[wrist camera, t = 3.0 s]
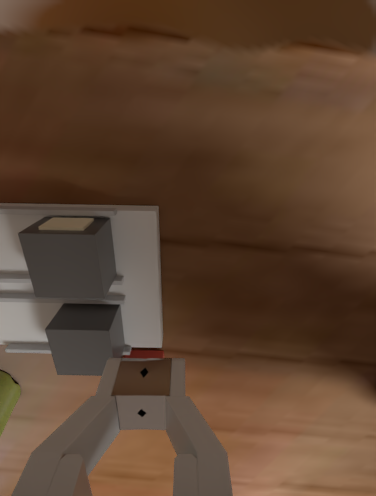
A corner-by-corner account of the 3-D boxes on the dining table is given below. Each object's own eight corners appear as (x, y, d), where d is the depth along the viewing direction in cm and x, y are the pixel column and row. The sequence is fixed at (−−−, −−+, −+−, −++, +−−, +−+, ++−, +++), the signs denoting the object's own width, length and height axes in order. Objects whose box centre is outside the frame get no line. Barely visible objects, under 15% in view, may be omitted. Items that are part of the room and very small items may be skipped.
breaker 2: (120, 303, 23) (109, 330, 20) (125, 345, 25) (115, 375, 22) (64, 302, 23) (44, 329, 20) (73, 344, 25) (57, 374, 22)
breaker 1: (109, 215, 20) (94, 231, 17) (116, 274, 22) (104, 298, 19) (44, 214, 20) (16, 230, 17) (57, 273, 22) (35, 297, 19)
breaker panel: (158, 203, 21) (154, 212, 19) (163, 338, 27) (160, 357, 25) (-86, 199, 21) (-120, 207, 19) (-27, 334, 27) (-47, 352, 25)
